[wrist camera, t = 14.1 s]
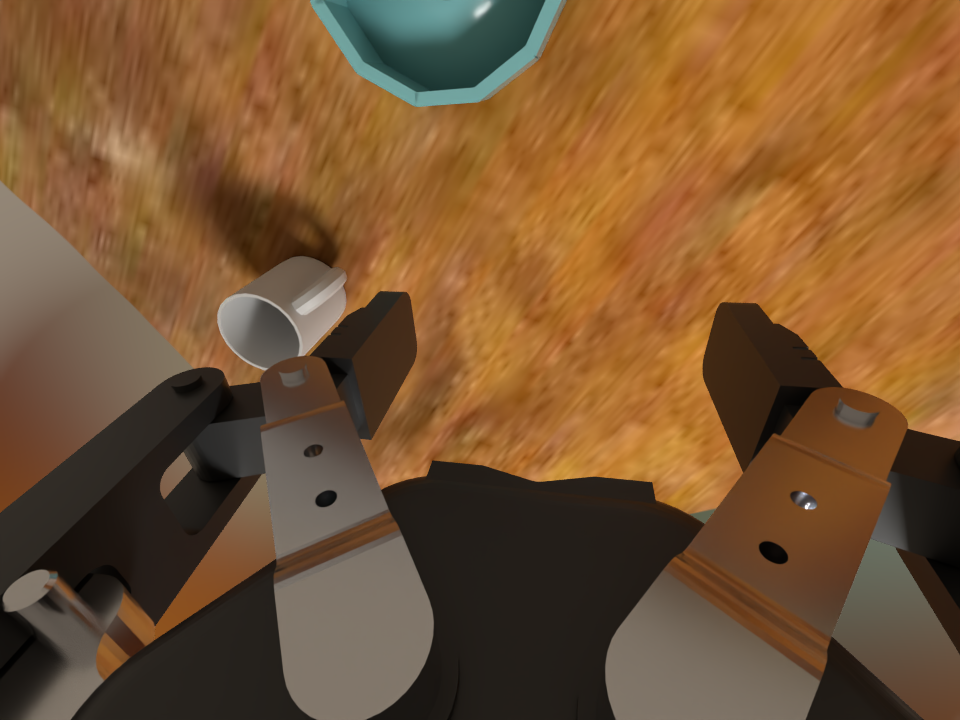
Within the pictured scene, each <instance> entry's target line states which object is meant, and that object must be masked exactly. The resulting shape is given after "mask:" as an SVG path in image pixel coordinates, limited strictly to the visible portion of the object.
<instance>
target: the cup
mask: <svg viewBox="0 0 960 720" xmlns="http://www.w3.org/2000/svg"><path fill="white" fill-rule="evenodd" d="M346 279H347V276H346V272H345V270H343V269H341V268H340V267H336V268H330V267H329V266H327V265H326V264H324V263H323V262H321V261H319V260H316V259H314V258H311V257H305V256H297V257H292V258H290V259H288V260H286V261H284V262H282V263H280V264H278V265H277V266H275V267H274V268H272V269H271V270H269V271H268V272H266V273H265V274H263V275H262V276H260V277H259V278H257V279H256V280H254V281H252V282H251V283H249V284H248V285H246V286H245V287H243V288H242V289H240V290H239V291H237V292H236V293H234V294H233V295H231V296H230V297H228V298H227V299H226V300H225V301H224V302H223V303H222V304H221V305H220V308H219V311H218V326H219V329H220V333H221V335H222V336H223V338H224V340H225V342H226V343H227V345H228V346H229V347H230V348H231V349H232V351H233V352H234V353H235V354H237V355H238V356H239V357H240V358H241V359H242V360H244V361H246V362H247V363H249V364H251V365H252V366H255V367H257V368H260V369H263V370H267V369H268V368H270V367H271V366H273V365H274V364H276V363H278V362H280V361H283V360H286V359H289V358H293V357H298V356H304V355H305V354H306V353H307V352H308V351H309V350H310V349H311V348H312V347H313V346H314V345H315V344H316V343H317V341H318V340H319V339H320V338H321V337H322V336H323V335H324V334H325V333H326V332H327V331H328V330H329V329H330V328H331V327H332V326H333V324H334V323H335V322H336V321H337V320H338V319H339V318H340V316H341V315H342V313H343V311H344V310H345V305H346V293H345V290H344V287H343V285H344V283H345V281H346Z"/></svg>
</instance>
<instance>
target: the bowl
mask: <svg viewBox="0 0 960 720" xmlns="http://www.w3.org/2000/svg"><path fill="white" fill-rule="evenodd" d="M566 1H567V0H310V2H311V5H313V6H312V7H313V9H314V10H315V12H316V13H317V15H318V16H319V18H320V19H321V21H322V22H323V24H324V25H325V27H326V28H327V30H328V31H329V33H330V34H331V36H332V37H333V39H334V40H335V42H336V43H337V45H338V46H339V48H340V49H341V51H342V52H343V54H344V55H345V57H346V58H347V60H348V61H349V63H350V64H351V66H352V67H353V69H354V70H355V72H356V73H357V74H358V75H360V76H362V77H364V78H365V79H367V80H369V81H371V82H372V83H374V84H376V85H378V86H380V87H381V88H383V89H385V90H387V91H388V92H390V93H392V94H394V95H395V96H397V97H399V98H401V99H403V100H404V101H406V102H408V103H410V104H411V105H413V106H416V107H421V106H434V105H447V104H460V103H473V102H480V101H483V100H486V99H489V98H491V97H492V96H493V95H494V94H496V93H497V92H498V91H500V90H501V89H502V88H503V87H505V86H506V85H507V84H508V83H510V82H511V81H512V80H514V79H515V78H516V77H517V76H519V75H520V74H521V73H523V72H524V71H525V70H526V69H528V68H529V67H530V66H531V65H533V64H534V63H535V62H537V61H538V60H539V59H538V58H540V57H541V55H542V53H543V50H544V48H545V46H546V44H547V42H548V40H549V37H550V35H551V33H552V31H553V29H554V27H555V24H556V22H557V20H558V18H559V16H560V14H561V11H562V9H563V7H564V5H565V3H566Z"/></svg>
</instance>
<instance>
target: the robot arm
mask: <svg viewBox="0 0 960 720" xmlns="http://www.w3.org/2000/svg"><path fill="white" fill-rule="evenodd" d="M808 348H809V347H808V346H807V345H806V344H805V343H804V342H803V340H802V339H801V338H800V337H799V336H798V335H797V334H795V333H794V332H792V331H790V330H788V329H787V328H785V327H783V326H782V325H780V324H773V323H772V321H771V320H770V319H769V318H768V316H767V315H766V314H765V313H764V311H763V310H762V309H761V308H760V306H759V305H758V304H756V303H728V302H722V303H721V304H720V305H719V306H718V308H717V311H716V314H715V318H714V321H713V325H712V329H711V332H710V336H709V340H708V344H707V347H706V351H705V355H704V359H703V378H704V382H705V384H706V386H707V389H708V391H709V393H710V396H711V398H712V400H713V403H714V405H715V408H716V410H717V412H718V415H719V417H720V419H721V422H722V424H723V426H724V429H725V431H726V433H727V436H728V438H729V440H730V443H731V445H732V447H733V450H734V452H735V454H736V457H737V459H738V461H739V464H740V466H741V468H742V471H743V474H742V476H741V477H740V478H739V480H738V481H737V482H736V484H735V485H734V486H733V488H732V489H731V490H730V491H729V493H728V494H727V495H726V497H725V498H724V499H723V501H722V502H721V503H720V505H719V506H718V507H717V509H716V510H715V511H714V513H713V514H712V515H711V517H710V518H709V519H708V521H707V522H706V523H705V524H704V523H702V522H701V521H699V520H697V519H696V518H694V517H693V516H691V515H689V514H687V513H685V512H683V511H681V510H679V509H677V508H675V507H672V506H670V505H667V504H665V503H662V502H659V501H656V500H655V494H654V489H653V484H652V482H643V481H633V480H623V479H613V478H603V477H586V478H576V479H566V480H556V481H545V482H535V481H531V480H527V479H524V478H521V477H518V476H515V475H511V474H508V473H505V472H502V471H499V470H496V469H492V468H489V467H486V466H482V465H472V464H462V463H452V462H442V461H432V463H431V466H430V469H429V472H428V474H427V476H425V477H418V478H413V479H408V480H405V481H402V482H399V483H396V484H393V485H391V486H388V487H386V488H384V489H382V490H381V489H380V487H379V484H378V482H377V479H376V477H375V474H374V472H373V470H372V467H371V465H370V462H369V460H368V457H367V455H366V453H365V450H364V448H363V445H362V443H361V440H360V439H369V440H372V438H373V436H374V434H375V432H376V430H377V429H378V427H379V425H380V423H381V421H382V420H383V418H384V416H385V414H386V412H387V411H388V409H389V407H390V405H391V403H392V402H393V400H394V398H395V396H396V394H397V393H398V391H399V389H400V387H401V385H402V384H403V382H404V380H405V378H406V376H407V375H408V373H409V371H410V369H411V367H412V366H413V364H414V362H415V358H416V353H417V341H416V334H415V327H414V320H413V313H412V306H411V300H410V297H409V294H408V293H407V292H388V291H380V292H379V293H378V294H377V295H376V296H375V297H374V298H373V299H372V300H371V302H370V303H369V304H368V305H367V306H366V307H365V308H360V309H358V310H357V311H355V312H353V313H351V314H349V315H347V316H346V317H345V318H344V320H343V321H342V322H341V323H340V324H339V325H338V327H336V328H335V329H334V330H333V331H332V332H331V335H328V337H327V338H326V339H325V340H324V341H323V342H322V343H321V344H320V345H319V346H318V347H317V348H316V349H315V350H314V351H313V352H312V354H311V355H310V356H298V357H293V358H289V359H286V360H283V361H280V362H278V363H276V364H274V365H273V366H271V367H270V368H268V369H267V370H266V371H265V372H264V373H263V374H262V376H261V379H260V382H258V383H250V384H242V385H235V386H229V384H228V382H227V380H226V378H225V375H224V373H223V372H222V371H221V370H219V369H217V368H210V367H206V368H197V369H192V370H188V371H185V372H182V373H180V374H177V375H174V376H172V377H170V378H168V379H167V380H165V381H164V382H162V383H161V384H160V385H158V386H157V387H156V388H154V389H153V390H152V391H151V392H149V393H148V394H147V395H146V396H145V397H143V398H142V399H141V400H140V401H138V402H137V403H136V404H135V405H134V406H132V407H131V408H130V409H128V410H127V411H126V412H125V413H123V414H122V415H121V416H120V417H118V418H117V419H116V420H115V421H114V422H112V423H111V424H110V425H109V426H107V427H106V428H105V429H104V430H102V431H101V432H100V433H99V434H97V435H96V436H95V437H94V438H92V439H91V440H90V441H89V442H87V443H86V444H85V445H84V446H83V447H81V448H80V449H79V450H78V451H76V452H75V453H74V454H73V455H71V456H70V457H69V458H68V459H66V460H65V461H64V462H63V463H61V464H60V465H59V466H58V467H57V468H55V469H54V470H53V471H52V472H50V473H49V474H48V475H47V476H45V477H44V478H43V479H42V480H40V481H39V482H38V483H37V484H35V485H34V486H33V487H32V488H31V489H29V490H28V491H27V492H25V493H24V494H23V495H22V496H20V497H19V498H18V499H17V500H16V501H14V502H13V503H12V504H11V505H9V506H8V507H7V508H6V509H4V510H3V511H2V512H1V513H0V720H924V719H922V718H921V717H920V716H919V715H918V714H917V713H916V712H915V711H914V710H912V709H911V708H910V707H909V706H908V705H907V704H906V703H905V702H904V701H902V700H901V699H900V698H899V697H898V696H897V695H896V694H895V693H894V692H893V691H891V690H890V689H889V688H888V687H887V686H886V685H885V684H884V683H882V681H880V680H879V679H878V678H877V677H876V676H875V675H874V674H873V673H872V672H870V671H869V670H868V669H867V668H866V667H865V666H864V665H863V664H861V662H859V661H858V660H857V659H856V658H855V657H854V656H853V655H852V654H851V653H849V652H848V651H847V650H846V649H845V648H844V647H843V646H842V645H841V644H840V643H838V642H837V641H836V640H835V639H834V638H833V637H832V634H833V632H834V629H835V627H836V624H837V622H838V619H839V617H840V614H841V611H842V609H843V607H844V604H845V601H846V599H847V596H848V594H849V591H850V589H851V586H852V584H853V581H854V579H855V576H856V574H857V571H858V569H859V566H860V564H861V561H862V558H863V556H864V553H865V551H866V548H867V546H868V543H869V541H870V539H873V540H876V541H879V542H882V543H885V544H888V545H891V546H894V547H896V550H897V551H898V553H899V555H900V557H901V558H902V560H903V562H904V563H905V565H906V567H907V568H908V570H909V571H910V573H911V575H912V576H913V578H914V580H915V581H916V583H917V585H918V586H919V588H920V590H921V591H922V593H923V595H924V596H925V598H926V599H927V601H928V603H929V604H930V606H931V608H932V609H933V611H934V613H935V614H936V616H937V618H938V619H939V621H940V623H941V624H942V626H943V628H944V629H945V631H946V632H947V634H948V636H949V637H950V639H951V641H952V642H953V644H954V646H955V647H956V649H957V651H958V652H959V654H960V441H956V440H952V439H947V438H943V437H939V436H935V435H931V434H926V433H922V432H918V431H914V430H910V429H907V428H908V423H907V420H906V418H905V417H904V415H903V414H902V413H901V412H900V411H899V410H897V409H896V408H895V407H893V406H892V405H890V404H889V403H887V402H885V401H884V400H882V399H879V398H877V397H875V396H873V395H870V394H867V393H864V392H861V391H857V390H853V389H848V388H843V387H842V386H841V384H840V383H839V382H838V381H837V380H836V379H835V378H834V376H833V375H832V374H831V373H830V372H829V371H828V369H827V368H826V367H825V366H824V365H823V364H822V362H821V361H820V360H817V357H816V355H815V354H814V353H813V352H812V351H811V350H808ZM182 452H184V453H185V455H186V457H187V459H188V461H189V462H190V464H191V466H192V469H191V470H190V471H189V472H188V474H187V475H186V476H185V477H184V478H183V479H182V480H181V481H180V482H179V484H178V485H177V486H176V487H175V488H174V489H173V490H172V491H171V493H170V494H169V495H168V496H167V497H166V498H165V499H163V497H162V495H161V493H160V481H161V478H162V476H163V474H164V472H165V470H166V469H167V468H168V467H169V466H170V465H171V464H172V463H173V462H174V461H175V459H177V457H178V456H179V455H180V454H181V453H182ZM264 473H266V479H267V487H268V495H269V503H270V510H271V519H272V527H273V535H274V543H275V551H276V559H275V560H274V561H272V562H271V563H269V564H268V565H266V566H265V567H263V568H262V569H260V570H259V571H258V572H256V573H254V574H253V575H252V576H250V577H249V578H247V579H245V580H244V581H242V582H241V583H240V584H238V585H236V586H235V587H233V588H232V589H230V590H229V591H227V592H226V593H225V594H223V595H222V596H220V597H219V598H217V599H215V600H214V601H212V602H211V603H210V604H208V605H206V606H205V607H203V608H202V609H201V610H199V611H198V612H196V613H195V614H193V615H192V616H190V617H189V618H187V619H186V620H184V621H183V622H181V623H180V624H178V625H177V626H175V627H174V628H172V629H171V630H169V631H168V632H167V633H165V634H163V635H162V636H160V637H159V638H157V639H156V640H154V636H155V626H156V624H157V623H158V621H159V620H160V618H161V617H162V616H163V614H164V613H165V611H166V610H167V608H168V607H169V606H170V604H171V603H172V601H173V600H174V598H175V597H176V596H177V594H178V593H179V591H180V590H181V588H182V587H183V586H184V584H185V583H186V582H187V580H188V578H189V577H190V576H191V574H192V573H193V571H194V570H195V568H196V567H197V566H198V564H199V563H200V562H201V560H202V559H203V557H204V556H205V554H206V553H207V552H208V550H209V549H210V547H211V546H212V545H213V543H214V542H215V540H216V539H217V537H218V536H219V535H220V533H221V532H222V530H223V529H224V527H225V526H226V525H227V523H228V522H229V520H230V519H231V517H232V516H233V514H234V513H235V512H236V510H237V509H238V508H239V506H240V505H241V503H242V502H243V500H244V499H245V498H246V496H247V495H248V493H249V492H250V490H251V489H252V488H253V486H254V485H255V483H256V482H257V480H258V479H259V477H260V476H261V474H264ZM153 640H154V641H153Z"/></svg>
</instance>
